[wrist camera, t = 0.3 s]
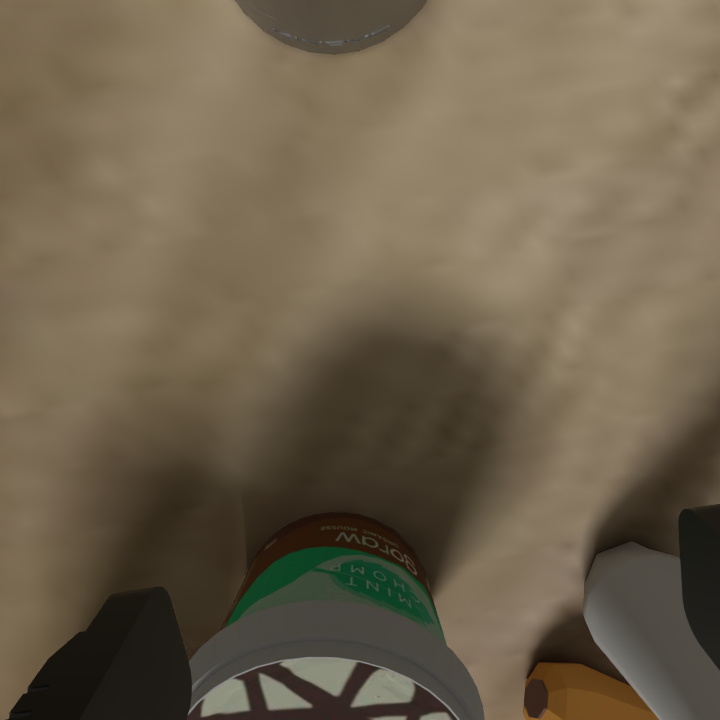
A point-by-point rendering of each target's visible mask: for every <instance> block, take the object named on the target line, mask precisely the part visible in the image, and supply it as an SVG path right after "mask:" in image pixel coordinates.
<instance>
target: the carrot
mask: <svg viewBox="0 0 720 720" xmlns="http://www.w3.org/2000/svg"><path fill="white" fill-rule="evenodd" d="M523 714H524V717H525V719H526V720H659V719H658V718H657V716H656V715H655V714H654V713H653V712H652V710H651V709H650V708H649V707H648V705H647V704H646V703H645V702H644V701H643V699H642V698H641V697H640V696H639V695H638V693H637V692H636V691H635V690H634V689H633V687H632V686H629V685H627V684H625V683H623V682H620V681H618V680H616V679H614V678H611V677H609V676H607V675H605V674H602V673H600V672H598V671H596V670H593V669H591V668H589V667H587V666H584V665H582V664H576V663H557V662H539V663H538V664H537V666H536V667H535V669H534V670H533V672H532V673H531V675H530V676H529V678H528V679H527V681H526V684H525V696H524V708H523Z"/></svg>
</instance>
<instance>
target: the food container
mask: <svg viewBox="0 0 720 720" xmlns="http://www.w3.org/2000/svg"><path fill="white" fill-rule="evenodd" d="M189 666H190V670H191V677H192V697H191V705H190V709H189V713H188V716H187V719H186V720H484V711H483V705H482V702H481V699H480V696H479V693H478V689H477V687H476V685H475V683H474V681H473V679H472V677H471V676H470V674H469V672H468V670H467V668H466V667H465V666H464V665H463V663H462V662H461V661H460V660H459V658H458V657H457V656H456V655H455V653H454V652H453V651H452V650H451V649H450V648H449V647H447V644H446V641H445V638H444V635H443V631H442V628H441V625H440V621H439V618H438V615H437V612H436V608H435V605H434V602H433V598H432V595H431V592H430V589H429V585H428V582H427V579H426V575H425V572H424V570H423V568H422V566H421V564H420V562H419V560H418V558H417V556H416V554H415V552H414V550H413V548H412V547H411V546H410V545H409V544H408V543H407V542H406V541H405V540H404V539H403V538H402V537H401V536H400V535H399V534H397V533H396V532H395V531H394V530H393V529H392V528H390V527H388V526H386V525H384V524H382V523H380V522H378V521H376V520H374V519H372V518H368V517H365V516H362V515H358V514H351V513H323V514H316V515H312V516H309V517H305V518H302V519H299V520H297V521H295V522H293V523H291V524H289V525H287V526H286V527H284V528H283V529H281V530H280V531H278V532H277V533H275V534H274V535H273V536H272V537H271V538H270V539H269V540H268V541H267V542H266V543H265V544H264V545H263V547H262V548H261V549H260V551H259V552H258V553H257V555H256V557H255V559H254V561H253V563H252V565H251V567H250V569H249V571H248V573H247V575H246V577H245V579H244V581H243V584H242V586H241V588H240V590H239V592H238V594H237V596H236V598H235V600H234V602H233V605H232V607H231V609H230V611H229V613H228V615H227V617H226V619H225V621H224V623H223V626H222V628H221V630H220V631H219V632H218V633H216V634H215V635H214V636H213V637H212V638H211V639H209V640H208V641H207V642H206V643H205V644H204V645H203V646H201V647H200V648H199V649H198V651H197V652H196V653H195V654H194V656H193V657H192V658H191V659H190V661H189Z"/></svg>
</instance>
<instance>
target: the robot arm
mask: <svg viewBox="0 0 720 720" xmlns="http://www.w3.org/2000/svg"><path fill="white" fill-rule="evenodd" d="M235 1H236V2H237V3H238V5H239V6H240V8H241V9H242V10H243V12H244V13H245V14H246V15H247V16H248V17H249V18H250V19H252V20H253V21H254V22H255V23H256V24H257V25H258V26H259V27H260V28H261V29H262V30H263V31H265V32H266V33H268V34H270V35H271V36H273V37H275V38H276V39H278V40H280V41H281V42H283V43H285V44H287V45H290V46H293V47H296V48H299V49H302V50H305V51H308V52H314V53H325V54H340V53H347V52H354V51H360V50H362V49H365V48H367V47H370V46H373V45H375V44H378V43H380V42H383V41H384V40H386V39H387V38H389V37H390V36H391V35H393V34H394V33H396V32H397V31H399V30H400V29H402V28H403V27H404V26H405V25H406V24H407V23H408V22H409V21H410V20H411V19H412V18H413V17H414V16H415V15H416V14H417V13H418V12H419V11H420V10H421V9H422V8H423V6H424V4H425V3H426V1H427V0H235ZM679 545H680V563H681V581H682V598H683V605H684V610H685V614H686V617H687V620H688V623H689V625H690V628H691V630H692V632H693V634H694V636H695V638H696V640H697V641H698V643H699V644H700V646H701V647H702V648H703V650H704V651H705V652H706V654H707V655H708V656H709V657H710V659H711V660H712V661H713V663H714V664H715V665H716V666H717V668H718V669H719V670H720V504H716V505H710V506H703V507H696V508H690V509H684V510H683V511H682V512H681V513H680V516H679ZM191 697H192V677H191V670H190V666H189V662H188V659H187V655H186V652H185V648H184V645H183V641H182V638H181V634H180V631H179V627H178V624H177V620H176V617H175V613H174V610H173V606H172V603H171V599H170V596H169V594H168V592H167V591H166V590H165V589H164V588H163V587H154V588H147V589H140V590H134V591H127V592H120V593H115V594H112V595H111V596H110V597H109V598H108V599H107V601H106V602H105V604H104V605H103V607H102V608H101V610H100V611H99V613H98V614H97V616H96V617H95V619H94V620H93V622H92V623H91V624H90V626H89V627H88V629H87V630H86V631H84V632H79V633H78V634H77V635H75V636H74V637H73V638H72V639H71V640H70V641H68V642H67V643H66V644H65V645H64V646H63V647H61V648H60V649H59V650H58V651H57V652H56V653H55V654H53V655H52V656H51V657H50V658H49V659H48V660H47V662H46V663H45V664H44V666H43V667H42V668H41V670H40V671H39V673H38V674H37V675H36V677H35V678H34V680H33V681H32V682H31V684H30V685H29V687H28V692H27V694H23V695H22V696H21V698H20V699H19V700H18V702H17V703H16V705H15V706H14V707H13V709H12V710H11V712H10V713H9V714H10V717H9V719H7V720H186V719H187V716H188V713H189V709H190V705H191Z"/></svg>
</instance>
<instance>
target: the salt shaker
mask: <svg viewBox="0 0 720 720" xmlns="http://www.w3.org/2000/svg"><path fill="white" fill-rule="evenodd" d="M583 614H584V618H585V621H586V623H587V625H588V628H589V630H590V632H591V635H592V637H593V639H594V641H595V643H596V644H597V645H598V646H599V647H600V649H601V650H602V651H603V652H604V653H605V655H606V656H607V657H608V658H609V660H610V661H611V662H612V663H613V664H614V666H615V667H616V668H617V669H618V670H619V672H620V673H621V674H622V675H623V676H624V678H625V679H626V680H627V681H628V682H629V684H630V685H631V686H632V687H633V689H634V690H635V691H636V692H637V693H638V695H639V696H640V697H641V698H642V699H643V701H644V702H645V703H646V704H647V705H648V707H649V708H650V709H651V710H652V712H653V713H654V714H655V715H656V716H657V718H658V719H659V720H720V670H719V669H718V668H717V666H716V665H715V664H714V663H713V661H712V660H711V659H710V657H709V656H708V655H707V654H706V652H705V651H704V650H703V648H702V647H701V646H700V644H699V643H698V641H697V640H696V638H695V636H694V634H693V632H692V630H691V628H690V625H689V623H688V620H687V617H686V614H685V610H684V605H683V598H682V581H681V563H680V558H679V557H677V556H674V555H670V554H666V553H663V552H659V551H656V550H652V549H648V548H645V547H643V546H641V545H639V544H637V543H635V542H633V541H630V542H627V543H625V544H622V545H619V546H617V547H614V548H611V549H609V550H606V551H603V552H601V553H598V554H597V555H596V557H595V560H594V562H593V564H592V567H591V569H590V572H589V574H588V576H587V579H586V581H585V584H584V603H583Z"/></svg>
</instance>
